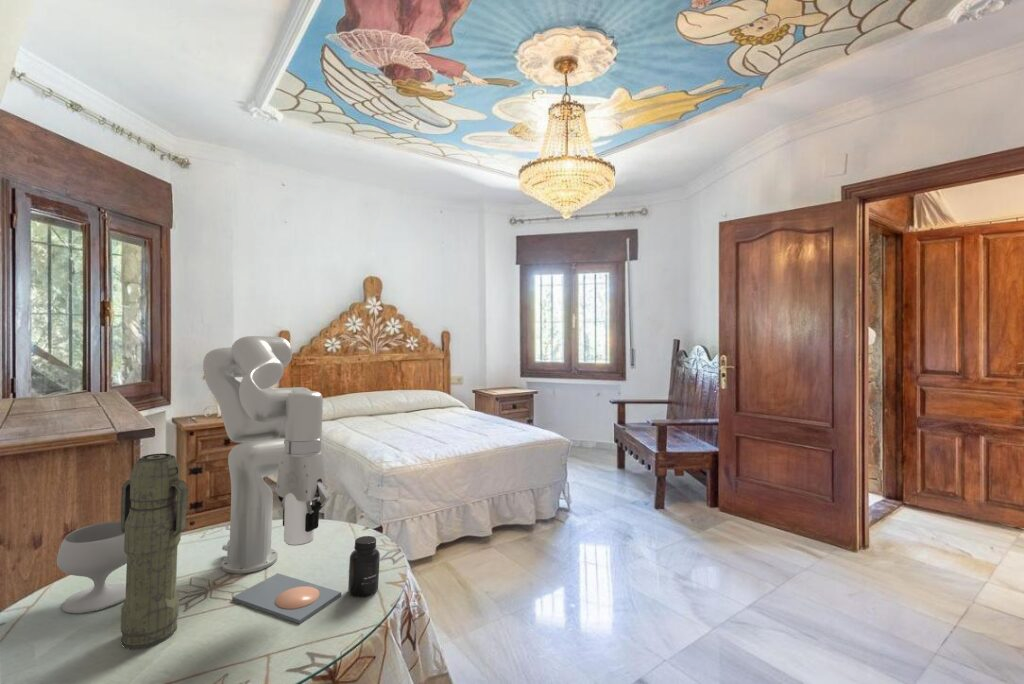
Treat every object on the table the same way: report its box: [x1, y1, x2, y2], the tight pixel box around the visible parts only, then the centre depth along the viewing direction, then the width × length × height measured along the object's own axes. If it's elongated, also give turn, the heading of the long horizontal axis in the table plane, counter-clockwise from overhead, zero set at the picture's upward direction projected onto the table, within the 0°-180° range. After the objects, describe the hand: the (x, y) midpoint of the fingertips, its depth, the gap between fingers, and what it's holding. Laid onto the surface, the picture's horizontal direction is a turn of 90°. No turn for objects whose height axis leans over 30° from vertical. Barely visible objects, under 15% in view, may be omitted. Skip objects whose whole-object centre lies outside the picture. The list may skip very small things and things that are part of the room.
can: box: [283, 490, 317, 547], centre depth 105 cm, size 6×6×12 cm
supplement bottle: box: [347, 535, 381, 598], centre depth 111 cm, size 7×7×12 cm
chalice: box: [56, 520, 127, 614], centre depth 103 cm, size 14×14×15 cm
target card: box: [231, 572, 342, 625], centre depth 106 cm, size 20×12×1 cm, turn 68°
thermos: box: [120, 453, 189, 650], centre depth 92 cm, size 9×12×35 cm
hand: (300, 526), depth 105 cm, fingers closed on can, 5 cm apart
